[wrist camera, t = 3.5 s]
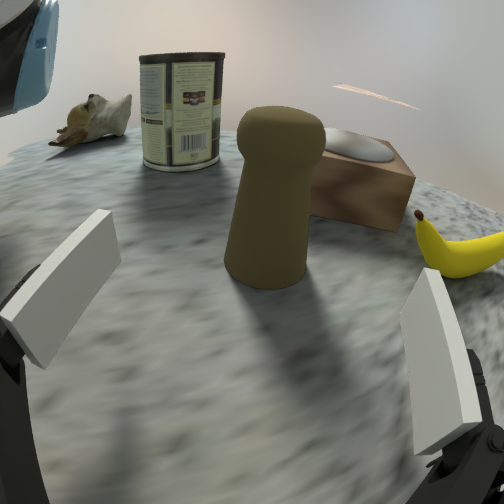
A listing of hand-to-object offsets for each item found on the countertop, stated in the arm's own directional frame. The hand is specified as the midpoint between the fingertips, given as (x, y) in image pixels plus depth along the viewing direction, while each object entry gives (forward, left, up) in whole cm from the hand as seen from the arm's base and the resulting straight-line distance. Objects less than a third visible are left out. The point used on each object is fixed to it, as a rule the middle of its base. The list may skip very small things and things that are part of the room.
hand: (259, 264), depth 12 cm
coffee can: (-14, +26, -7) cm, 31 cm away
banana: (+18, +12, -7) cm, 23 cm away
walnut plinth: (+6, +22, -6) cm, 24 cm away
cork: (0, +8, -7) cm, 11 cm away
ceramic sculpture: (-34, +32, -7) cm, 47 cm away
